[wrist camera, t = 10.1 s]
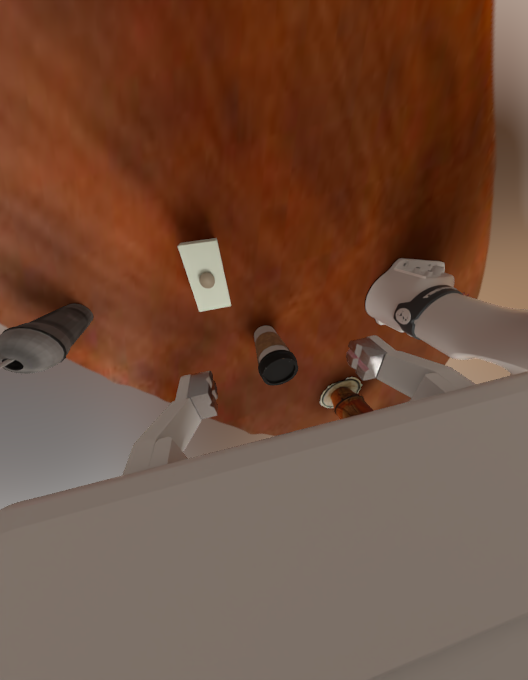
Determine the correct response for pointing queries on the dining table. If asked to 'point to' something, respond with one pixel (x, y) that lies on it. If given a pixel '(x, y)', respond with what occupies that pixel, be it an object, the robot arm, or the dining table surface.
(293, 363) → the coffee cup
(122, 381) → the dining table surface
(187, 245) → the lid
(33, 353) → the beverage cup
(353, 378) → the decorative vase
